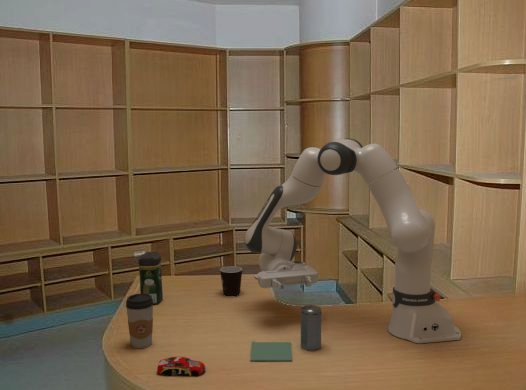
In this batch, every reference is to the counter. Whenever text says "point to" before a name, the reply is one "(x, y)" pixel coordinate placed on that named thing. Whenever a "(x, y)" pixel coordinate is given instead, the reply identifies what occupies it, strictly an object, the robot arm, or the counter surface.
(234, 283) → the coffee mug
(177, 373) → the race car
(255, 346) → the mat
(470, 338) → the counter surface
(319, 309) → the canister
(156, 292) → the coffee jar
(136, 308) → the coffee cup
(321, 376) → the counter surface
